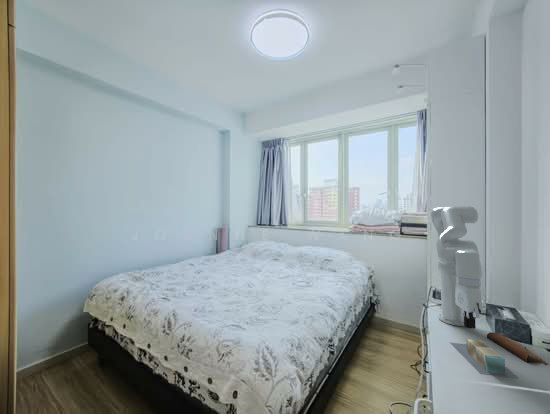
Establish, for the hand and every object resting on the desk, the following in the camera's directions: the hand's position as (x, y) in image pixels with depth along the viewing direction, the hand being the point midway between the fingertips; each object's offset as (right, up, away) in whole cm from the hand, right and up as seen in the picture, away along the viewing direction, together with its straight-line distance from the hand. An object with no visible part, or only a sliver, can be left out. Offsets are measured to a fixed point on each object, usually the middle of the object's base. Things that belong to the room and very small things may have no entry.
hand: (469, 327), depth 92 cm
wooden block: (-1, -6, -3) cm, 7 cm away
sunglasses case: (+18, -10, -1) cm, 20 cm away
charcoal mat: (-2, -9, -7) cm, 11 cm away
